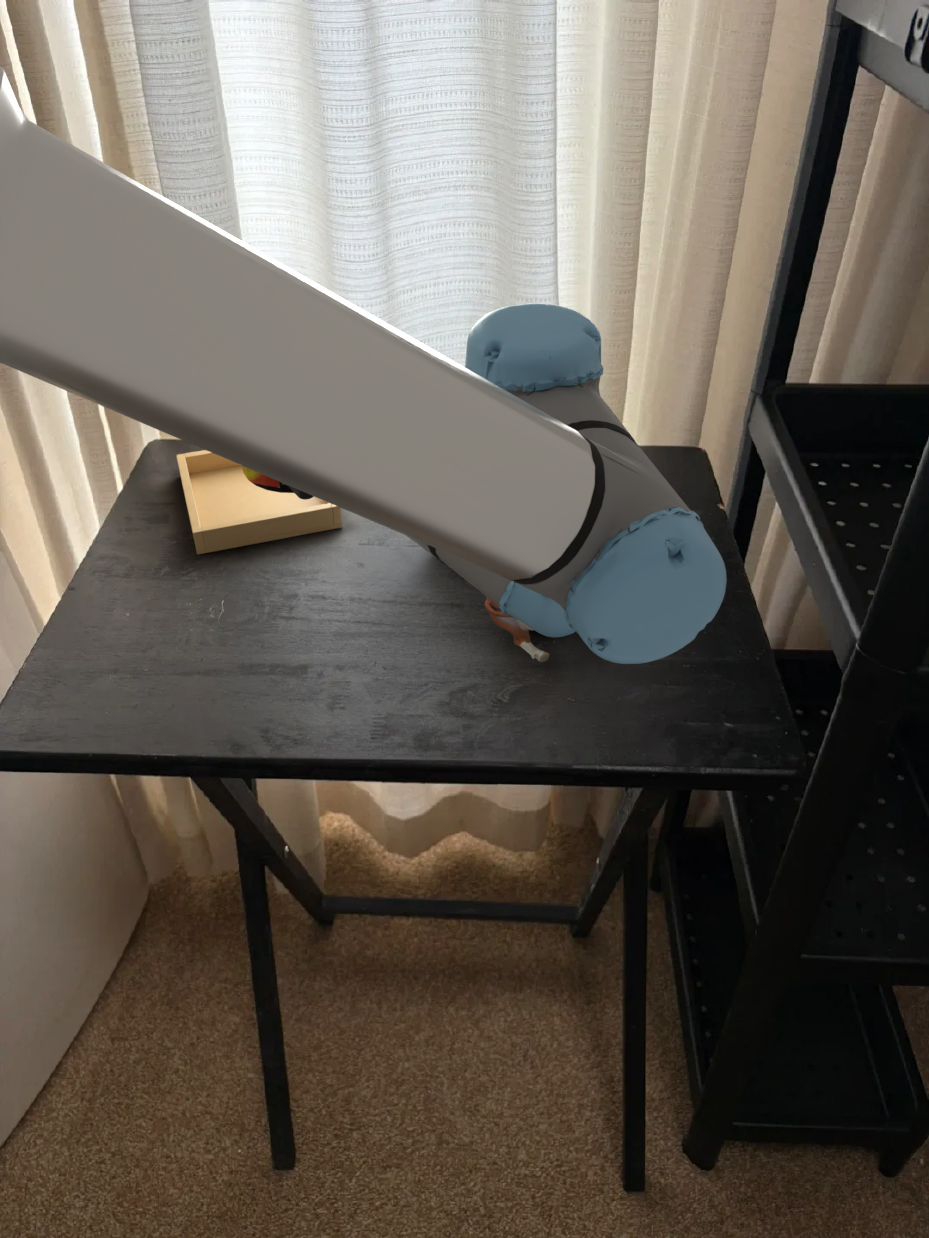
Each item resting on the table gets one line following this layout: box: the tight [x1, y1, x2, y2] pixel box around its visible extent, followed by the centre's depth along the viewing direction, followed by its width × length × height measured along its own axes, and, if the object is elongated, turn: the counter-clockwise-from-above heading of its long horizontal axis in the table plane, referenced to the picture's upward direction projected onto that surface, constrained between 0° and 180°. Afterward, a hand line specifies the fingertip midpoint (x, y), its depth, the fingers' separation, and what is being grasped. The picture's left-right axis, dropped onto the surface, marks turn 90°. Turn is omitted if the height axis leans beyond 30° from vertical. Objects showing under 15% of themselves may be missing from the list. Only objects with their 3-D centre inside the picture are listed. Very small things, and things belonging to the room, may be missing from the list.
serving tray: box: [175, 449, 343, 555], centre depth 101 cm, size 14×14×2 cm
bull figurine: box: [484, 597, 550, 663], centre depth 88 cm, size 4×13×8 cm
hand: (256, 366), depth 85 cm, fingers closed on beverage can, 9 cm apart
